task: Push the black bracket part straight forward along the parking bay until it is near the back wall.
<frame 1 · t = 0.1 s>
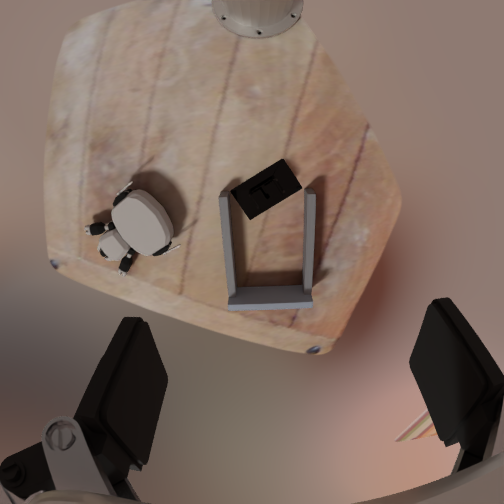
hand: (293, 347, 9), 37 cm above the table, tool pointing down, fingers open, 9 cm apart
robot toy: (134, 226, 48), on the table
parking bay: (268, 241, 48), on the table
black bracket part: (266, 187, 45), on the table
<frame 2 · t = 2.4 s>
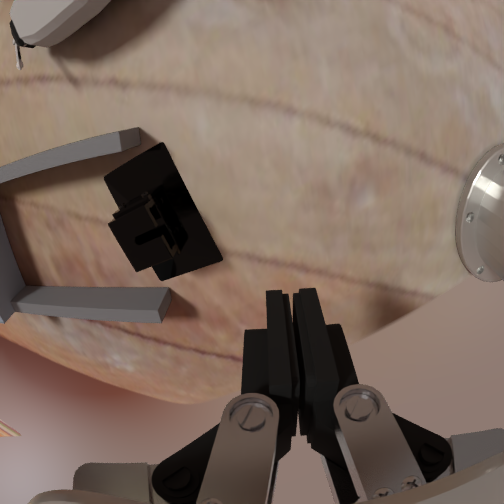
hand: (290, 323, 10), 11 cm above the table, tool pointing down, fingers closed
parking bay: (64, 229, 21), on the table
black bracket part: (163, 213, 21), on the table
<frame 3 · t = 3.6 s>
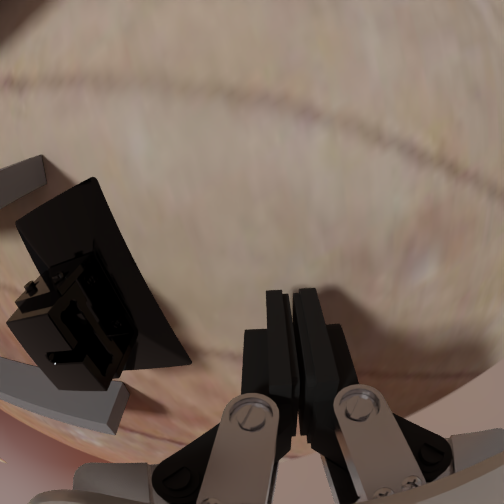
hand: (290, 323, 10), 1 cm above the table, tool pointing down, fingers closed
black bracket part: (102, 286, 12), on the table
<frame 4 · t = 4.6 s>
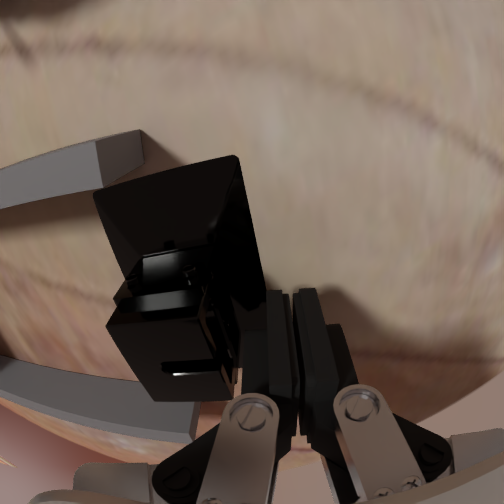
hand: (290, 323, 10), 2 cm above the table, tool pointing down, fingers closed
parking bay: (29, 298, 12), on the table
black bracket part: (198, 281, 12), on the table, touching gripper
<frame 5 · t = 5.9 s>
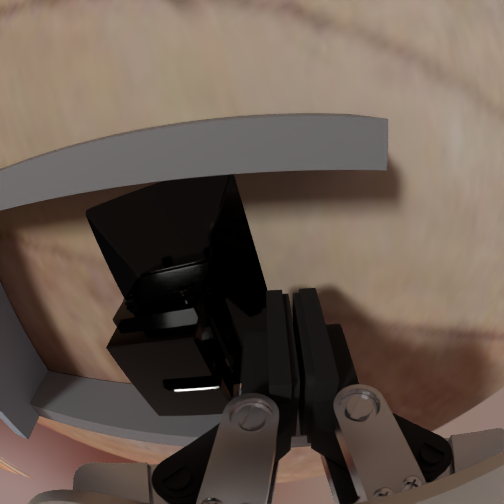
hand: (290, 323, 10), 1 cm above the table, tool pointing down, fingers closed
parking bay: (133, 304, 12), on the table
black bracket part: (197, 296, 12), on the table
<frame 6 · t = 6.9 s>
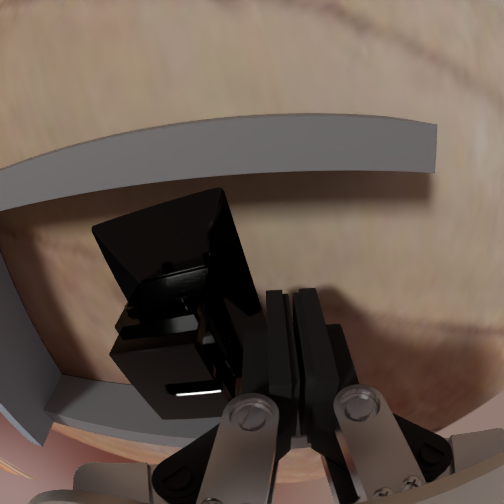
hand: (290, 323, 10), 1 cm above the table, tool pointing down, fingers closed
parking bay: (161, 305, 12), on the table
black bracket part: (197, 300, 13), on the table
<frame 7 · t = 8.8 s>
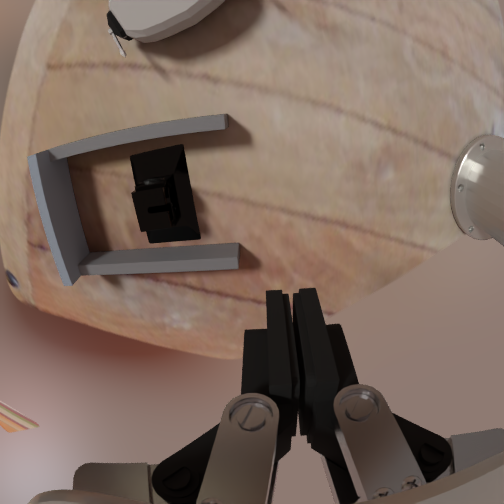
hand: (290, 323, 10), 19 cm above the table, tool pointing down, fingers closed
parking bay: (146, 195, 27), on the table
black bracket part: (166, 194, 28), on the table
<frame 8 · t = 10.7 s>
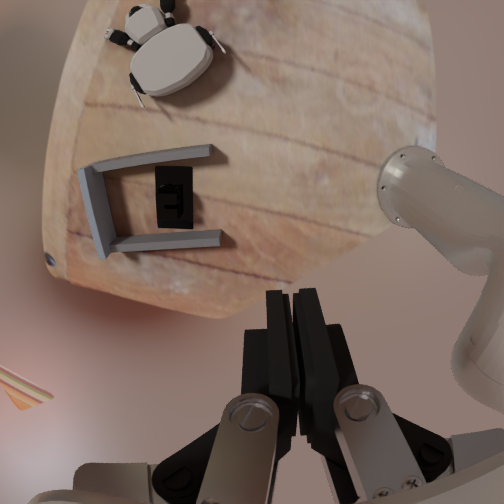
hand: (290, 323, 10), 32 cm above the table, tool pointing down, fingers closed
robot toy: (164, 46, 32), on the table
parking bay: (159, 197, 41), on the table
black bracket part: (175, 196, 42), on the table
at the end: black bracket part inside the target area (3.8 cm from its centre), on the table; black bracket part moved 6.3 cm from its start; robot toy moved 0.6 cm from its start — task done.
